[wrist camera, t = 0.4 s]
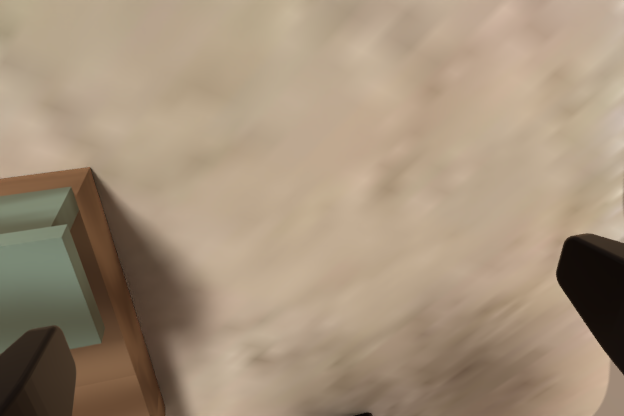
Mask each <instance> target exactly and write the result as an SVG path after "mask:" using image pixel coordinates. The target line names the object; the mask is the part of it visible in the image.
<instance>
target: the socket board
mask: <svg viewBox="0 0 624 416" xmlns="http://www.w3.org/2000/svg"><path fill="white" fill-rule="evenodd" d="M51 325H56V326H59V327H60V328H61V330H62V331H63V333H64V336H65V338H66V341H67V343H68V346H69V348H70V351H71V353H72V356H73V359H74V361H75V365H76V385H75V394H74V403H73V412H72V416H165V405H164V402H163V399H162V395H161V392H160V389H159V386H158V383H157V379H156V376H155V373H154V370H153V367H152V364H151V360H150V357H149V354H148V351H147V348H146V344H145V341H144V338H143V335H142V332H141V329H140V325H139V322H138V319H137V316H136V313H135V309H134V306H133V303H132V300H131V297H130V293H129V290H128V287H127V284H126V281H125V278H124V274H123V271H122V268H121V265H120V262H119V258H118V255H117V252H116V249H115V246H114V243H113V239H112V236H111V233H110V230H109V227H108V223H107V220H106V217H105V214H104V211H103V208H102V204H101V201H100V198H99V195H98V192H97V188H96V185H95V182H94V179H93V176H92V173H91V169H90V167H88V168H80V169H72V170H65V171H57V172H49V173H42V174H34V175H27V176H19V177H11V178H4V179H0V354H1V353H2V352H4V351H5V350H6V349H7V348H8V347H9V346H10V345H12V344H13V343H14V342H15V341H16V340H17V339H18V338H19V337H21V336H22V335H23V334H24V333H25V332H27V331H28V330H30V329H34V328H39V327H45V326H51Z"/></svg>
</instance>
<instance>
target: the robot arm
mask: <svg viewBox="0 0 624 416" xmlns="http://www.w3.org/2000/svg"><path fill="white" fill-rule="evenodd" d="M556 277H557V281H558V283H559V285H560V286H561V288H562V289H563V291H564V292H565V294H566V295H567V297H568V298H569V300H570V301H571V303H572V304H573V306H574V307H575V309H576V310H577V312H578V313H579V315H580V316H581V318H582V319H583V320H584V322H585V323H586V325H587V326H588V328H589V329H590V331H591V332H592V334H593V335H594V337H595V338H596V340H597V341H598V343H599V344H600V345H601V347H602V348H603V350H604V351H605V352H606V353H607V355H608V356H609V357H610V359H611V360H612V361H613V362H614V364H615V365H616V366H617V367H618V368H619V370H620V371H621V372H622V373H623V375H624V243H621V242H618V241H615V240H611V239H608V238H604V237H601V236H598V235H594V234H587V233H586V234H580V235H574V236H570V237H568V238H567V239H566V240H565V242H564V244H563V248H562V252H561V255H560V259H559V263H558V267H557V271H556ZM75 385H76V365H75V361H74V359H73V356H72V353H71V351H70V348H69V346H68V343H67V341H66V338H65V336H64V333H63V331H62V330H61V328H60V327H59V326H56V325H51V326H45V327H39V328H34V329H30V330H28V331H27V332H25V333H24V334H23V335H22V336H21V337H19V338H18V339H17V340H16V341H15V342H14V343H13V344H12V345H10V346H9V347H8V348H7V349H6V350H5V351H4V352H2V353H1V354H0V416H72V412H73V403H74V394H75ZM355 416H372V414H371V413H363V414H359V415H355Z"/></svg>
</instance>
